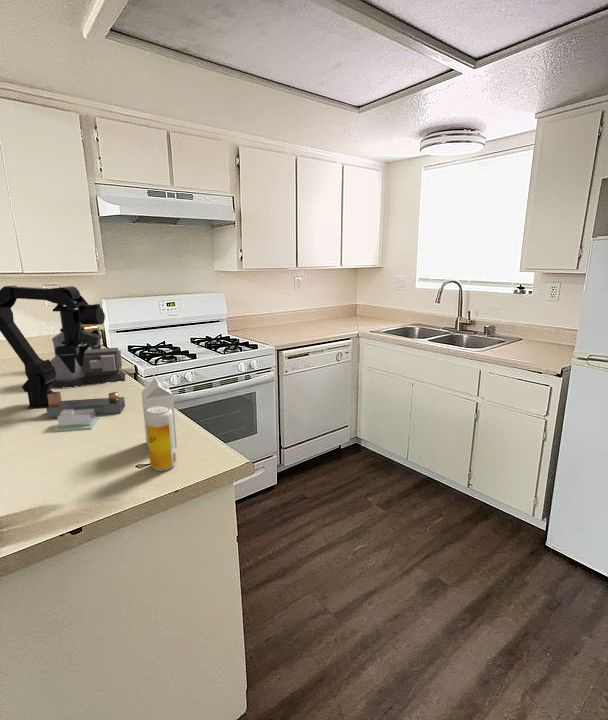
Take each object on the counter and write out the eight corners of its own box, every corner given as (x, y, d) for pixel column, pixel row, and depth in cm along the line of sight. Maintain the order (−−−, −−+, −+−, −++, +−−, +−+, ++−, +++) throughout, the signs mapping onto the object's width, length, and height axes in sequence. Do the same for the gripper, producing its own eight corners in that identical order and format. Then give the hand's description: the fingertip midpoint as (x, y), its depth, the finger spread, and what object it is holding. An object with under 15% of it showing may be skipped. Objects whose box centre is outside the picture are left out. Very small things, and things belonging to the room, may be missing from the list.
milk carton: (149, 452, 109) (143, 384, 105) (146, 442, 116) (139, 377, 111) (177, 446, 113) (171, 380, 108) (172, 437, 119) (167, 373, 114)
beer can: (154, 460, 105) (149, 405, 101) (178, 459, 105) (174, 404, 102) (147, 472, 99) (141, 414, 95) (173, 471, 99) (168, 413, 96)
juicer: (42, 390, 161) (32, 328, 155) (50, 379, 176) (41, 323, 170) (125, 382, 172) (118, 324, 166) (126, 373, 186) (120, 319, 180)
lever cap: (59, 427, 124) (57, 414, 123) (64, 421, 129) (62, 408, 128) (91, 425, 126) (89, 412, 125) (95, 419, 131) (94, 406, 130)
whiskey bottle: (105, 367, 196) (97, 299, 188) (85, 371, 188) (76, 301, 180) (93, 364, 201) (85, 298, 194) (73, 368, 193) (63, 300, 186)
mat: (54, 432, 122) (54, 430, 122) (65, 420, 131) (64, 419, 131) (91, 429, 124) (91, 427, 124) (99, 418, 133) (98, 416, 133)
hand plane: (47, 418, 132) (44, 396, 131) (55, 411, 139) (52, 390, 137) (120, 413, 137) (118, 392, 135) (125, 406, 144) (122, 385, 142)
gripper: (89, 328, 131) (95, 375, 134) (104, 319, 148) (109, 361, 152) (50, 329, 128) (58, 377, 132) (70, 320, 146) (76, 363, 150)
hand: (77, 369), depth 142 cm, fingers open, 9 cm apart
